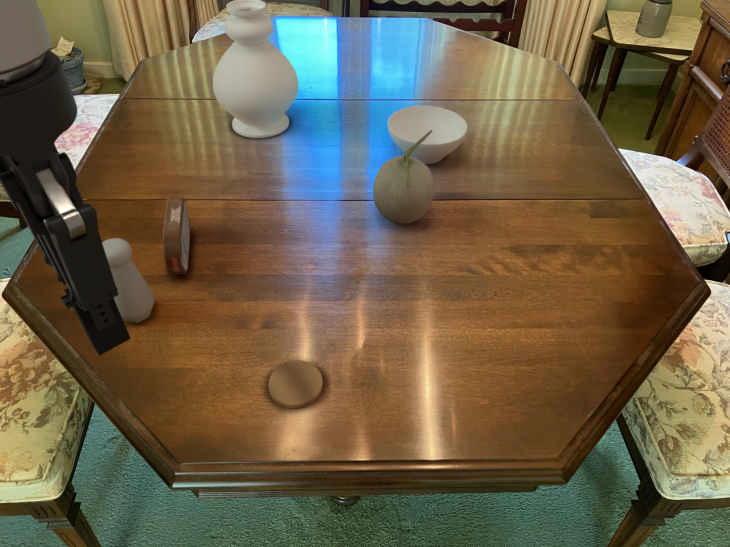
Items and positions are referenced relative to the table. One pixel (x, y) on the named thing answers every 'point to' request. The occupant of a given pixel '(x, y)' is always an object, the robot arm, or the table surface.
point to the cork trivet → (295, 384)
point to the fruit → (403, 188)
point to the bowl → (418, 122)
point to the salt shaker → (128, 282)
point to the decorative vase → (254, 74)
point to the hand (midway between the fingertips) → (111, 341)
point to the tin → (176, 236)
